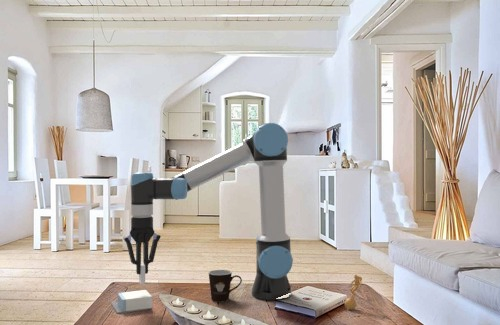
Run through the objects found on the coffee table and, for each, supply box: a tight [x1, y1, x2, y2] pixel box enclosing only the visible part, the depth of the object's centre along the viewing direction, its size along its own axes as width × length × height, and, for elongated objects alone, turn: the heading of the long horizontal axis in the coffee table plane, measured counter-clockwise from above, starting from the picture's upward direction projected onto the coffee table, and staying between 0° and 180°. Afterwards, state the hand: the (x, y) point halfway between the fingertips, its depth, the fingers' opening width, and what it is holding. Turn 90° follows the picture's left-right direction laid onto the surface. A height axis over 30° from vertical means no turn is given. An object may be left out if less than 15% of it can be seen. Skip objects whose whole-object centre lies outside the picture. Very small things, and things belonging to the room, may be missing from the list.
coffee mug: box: [208, 269, 243, 303], centre depth 172 cm, size 12×9×10 cm
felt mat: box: [110, 300, 151, 314], centre depth 164 cm, size 11×13×1 cm
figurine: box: [344, 274, 363, 311], centre depth 161 cm, size 8×6×12 cm
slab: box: [117, 289, 153, 312], centre depth 163 cm, size 4×9×10 cm
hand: (142, 283), depth 164 cm, fingers closed
